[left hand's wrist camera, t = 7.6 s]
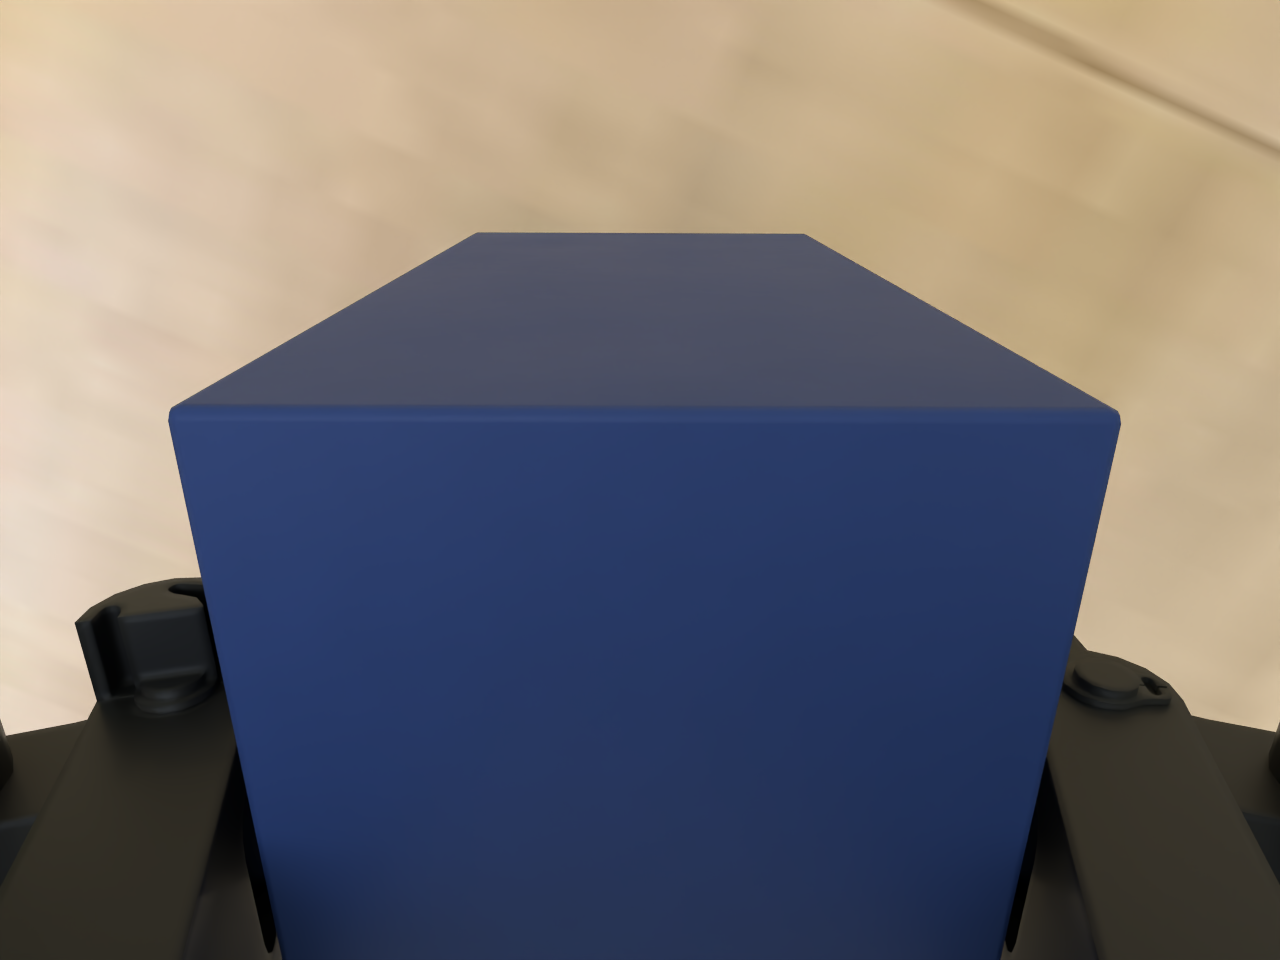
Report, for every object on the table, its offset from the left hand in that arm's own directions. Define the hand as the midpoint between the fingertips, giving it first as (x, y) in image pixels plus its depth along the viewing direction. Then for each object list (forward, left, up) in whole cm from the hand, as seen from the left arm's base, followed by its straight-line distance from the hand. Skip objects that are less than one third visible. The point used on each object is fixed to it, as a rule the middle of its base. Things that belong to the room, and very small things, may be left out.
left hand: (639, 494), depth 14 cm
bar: (+5, +8, -1) cm, 9 cm away
